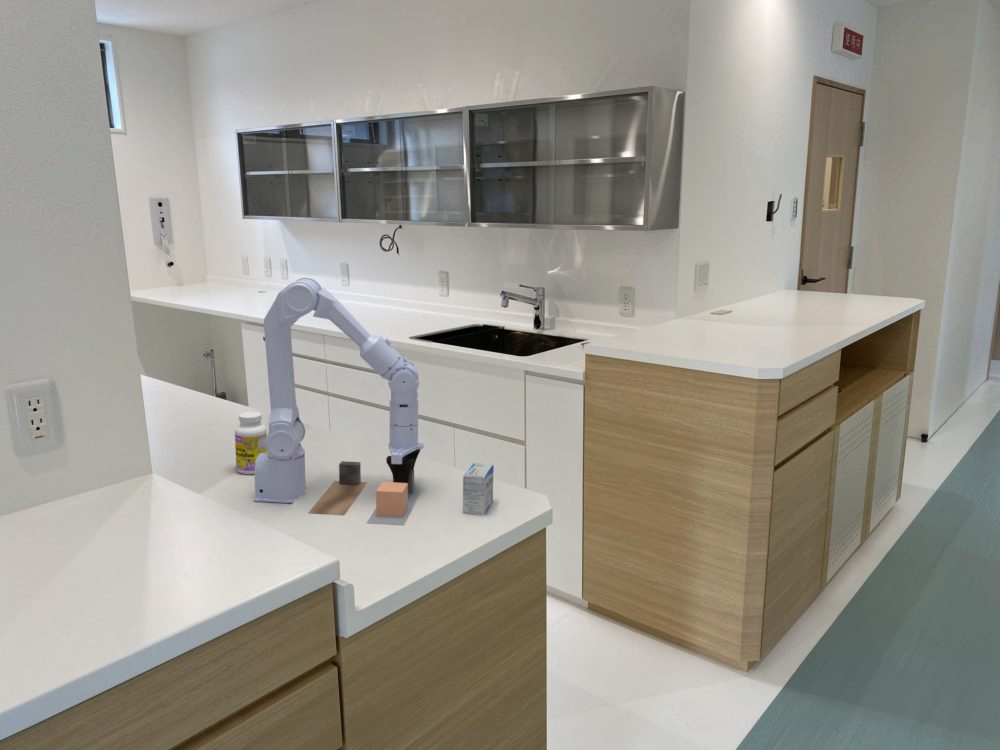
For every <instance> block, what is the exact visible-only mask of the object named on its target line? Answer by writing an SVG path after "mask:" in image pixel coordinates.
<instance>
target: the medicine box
mask: <svg viewBox="0 0 1000 750" xmlns="http://www.w3.org/2000/svg"><path fill="white" fill-rule="evenodd" d="M494 469H495V468H494V464H489V463H480V462H479V463H478V462H477V463H472V465H470V467H469V469H467V471H466V472H465V473H464V475H463V477H462V514H466V515H475V516H476V515H477V516H486V514H487V513H488V512H489V511H488V510H490V507H491V506H492V504H493V502H494V471H495V470H494Z"/></svg>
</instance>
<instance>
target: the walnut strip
mask: <svg viewBox="0 0 1000 750" xmlns="http://www.w3.org/2000/svg"><path fill="white" fill-rule="evenodd" d="M361 471H362V470H361V462H360V461H348V460H347V461H343V460H341V462H340V463H339V464H338V472H339V473H338V475H339V478H338V479H339V480H334V481H333V482H332V484H331V485H330V486H329V487H328V488H327V490H326V491H325V492H324V493H323V495H321V497H320V498H319V499H318V500H317V502H316V503H315V504H314V505H313V506H312V507H311V509H309V511H308V512H307V514H309V515H310V514H312V515H329V516H330V515H331V516H345V515H346V514H347V513H348V512H349V510H350V508H351V506H353V504H354V502H355V501H356V500H357V499H358V497H359V496H360V494H361V493H362V491H363V490H364V488H365V487H366V485H367V484H368V482H366V481H361V480H362V479H361Z"/></svg>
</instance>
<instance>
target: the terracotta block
mask: <svg viewBox="0 0 1000 750" xmlns="http://www.w3.org/2000/svg"><path fill="white" fill-rule="evenodd" d="M375 495H376V496H375V506H376V507H375V509H376V516H384V517H401V518H403V516H404V514H405V512H406V510H407V508H408V483H395V482H393V481H392V482H391V481H382V482H381V483H380V484H379V486H378V487H377V489H376V490H375Z"/></svg>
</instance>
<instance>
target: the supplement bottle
mask: <svg viewBox="0 0 1000 750" xmlns="http://www.w3.org/2000/svg"><path fill="white" fill-rule="evenodd" d="M238 420H239V425H237V426H236V427H235V429H234V442H235V443H234V445H235V446H234V447H235V467H236V468H235V470H236V472H238V473H239V474H241V475H242V474H243V475H255V474H254V469H255V462H256V459H257V457H258V455H259V454H260V453H267V452H268V451H267V449H266V446H265V440H266V437H267V435H268V432H267V427H266V426H265V424H262V422H261V421H262V420H263V418H262V413H261V412H258V411H247V412H246V411H245V412H242V413H240V414H239V415H238Z"/></svg>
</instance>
